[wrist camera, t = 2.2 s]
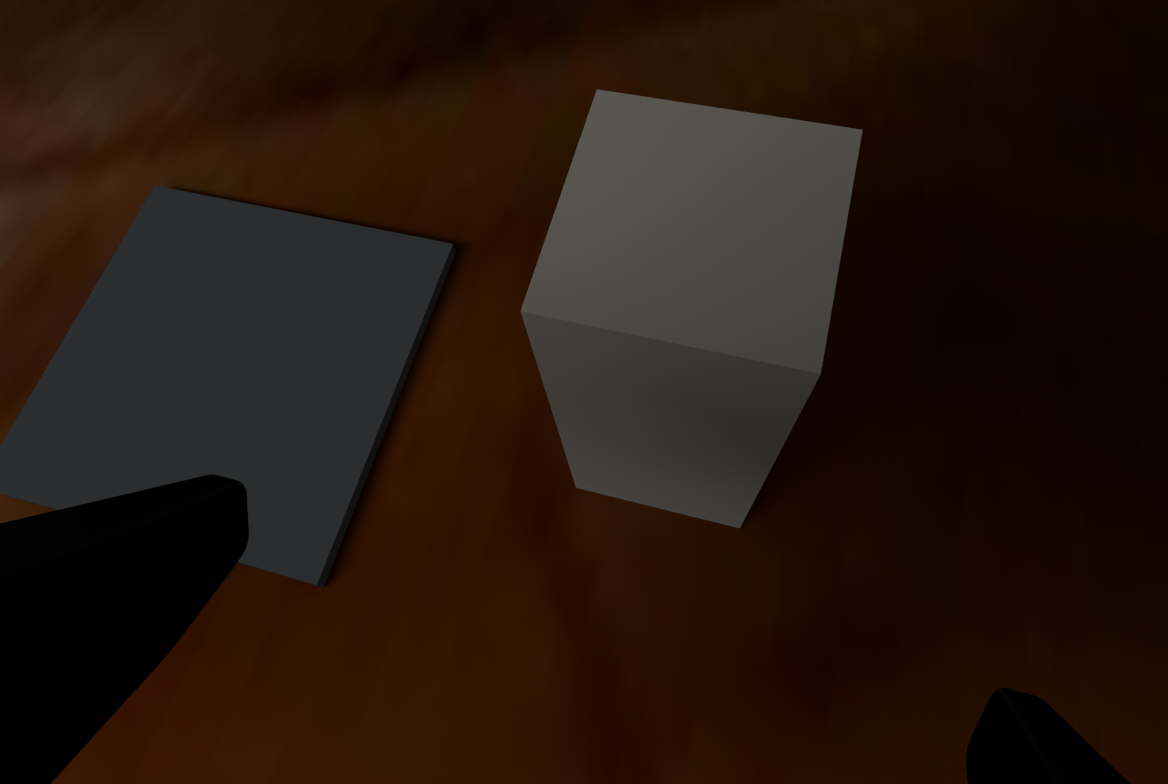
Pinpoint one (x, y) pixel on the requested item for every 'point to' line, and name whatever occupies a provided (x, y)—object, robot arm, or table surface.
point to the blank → (688, 297)
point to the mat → (233, 369)
